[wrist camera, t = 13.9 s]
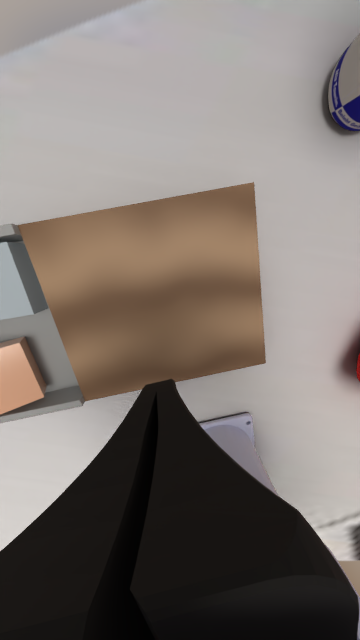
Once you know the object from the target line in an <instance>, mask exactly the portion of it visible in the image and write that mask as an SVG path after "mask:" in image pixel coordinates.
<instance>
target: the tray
mask: <svg viewBox="0 0 360 640" xmlns="http://www.w3.org/2000/svg"><path fill="white" fill-rule="evenodd" d="M2 242H13V243H21V244H24V241H23V238H22V236H21V233H20V231H19V228H18V225H14V224H7V225H1V226H0V243H2ZM43 294H44V293H43ZM44 297H45V296H44ZM45 299H46V298H45ZM46 302H47V301H46ZM47 305H48V304H47ZM24 336H25V338H26V340H27V343H28V345H29V347H30V350H31V352H32V354H33V356H34V359H35V361H36V363H37V365H38V368H39V370H40V372H41V374H42V377H43V379H44V381H45V383H46V386H47V387H46V392H45V396H44V397H43V398H41V399H38V400H36V401H33V402H31V403H28V404H26V405H23V406H21V407H18V408H16V409H13V410H11V411H8V412H5V413H3V414H0V423H4V422H9V421H14V420H19V419H23V418H28V417H33V416H37V415H42V414H47V413H52V412H56V411H61V410H66V409H71V408H75V407H80V406H83V404H84V402H85V400H84V397H83V395H82V392H81V390H80V387H79V384H78V382H77V379H76V377H75V374H74V371H73V369H72V366H71V364H70V361H69V358H68V356H67V353H66V350H65V348H64V345H63V343H62V340H61V337H60V335H59V332H58V330H57V327H56V324H55V322H54V319H53V317H52V314H51V311H50V309H49V306H48V309H45V310H43V311H41V312H38V313H36V314H33V315H27V316H21V317H15V318H9V319H3V320H0V343H2V342H6V341H9V340H13V339H16V338H20V337H24Z"/></svg>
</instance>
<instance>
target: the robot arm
mask: <svg viewBox="0 0 360 640" xmlns="http://www.w3.org/2000/svg"><path fill="white" fill-rule="evenodd" d="M247 421H248V422H247ZM0 640H360V597H359V595H358V594H357V592H356V590H355V589H354V587H353V585H352V584H351V582H350V580H349V579H348V577H347V575H346V574H345V572H344V570H343V569H342V567H341V566H340V564H339V563H338V561H337V559H336V558H335V556H334V555H333V554H332V552H331V551H330V549H329V548H328V547H327V546H326V545H325V544H324V543H323V542H322V540H321V539H320V538H319V536H318V535H317V534H316V532H315V531H314V530H313V528H312V527H311V526H310V525H309V523H308V522H307V521H306V520H305V518H304V517H303V516H302V515H301V513H300V512H299V511H298V510H297V509H295V508H294V507H293V506H291V505H290V504H288V503H287V502H286V501H284V500H283V499H282V498H280V497H279V496H278V494H277V492H276V490H275V488H274V486H273V484H272V482H271V480H270V478H269V476H268V474H267V472H266V470H265V468H264V466H263V464H262V462H261V460H260V458H259V456H258V454H257V452H256V450H255V442H254V431H253V421H252V416H251V415H250V414H249V413H245V414H240V415H236V416H231V417H227V418H222V419H218V420H213V421H208V422H204V423H198V422H197V421H196V419H195V418H194V417H193V415H192V414H191V413H190V411H189V410H188V408H187V407H186V405H185V404H184V402H183V400H182V399H181V397H180V395H179V393H178V391H177V389H176V385H175V381H174V380H173V379H168V380H164V381H160V382H155V383H151V384H147V385H145V386H144V388H143V389H142V391H141V393H140V394H139V396H138V398H137V399H136V401H135V403H134V404H133V406H132V408H131V409H130V411H129V412H128V414H127V415H126V417H125V419H124V420H123V422H122V423H121V424H120V426H119V427H118V429H117V430H116V432H115V433H114V434H113V436H112V437H111V439H110V440H109V441H108V443H107V444H106V445H105V446H104V448H103V449H102V450H101V451H100V452H99V454H98V455H97V456H96V457H95V458H94V460H93V461H92V462H91V463H90V464H89V465H88V467H87V468H86V469H85V470H84V471H83V472H82V473H81V474H80V475H79V476H78V477H77V478H76V479H75V480H74V482H73V483H72V484H71V485H70V486H69V487H68V488H67V489H66V490H65V491H64V492H63V493H62V494H61V495H60V496H59V497H58V498H57V499H56V500H55V501H54V502H53V503H52V504H51V505H50V506H49V507H48V508H47V509H46V510H45V511H44V512H43V513H42V514H41V515H40V516H39V517H38V518H37V519H36V520H35V521H33V522H32V523H31V524H30V525H29V526H28V527H27V528H26V529H25V530H24V531H23V532H22V533H21V534H19V535H18V536H17V537H16V538H15V539H14V540H13V541H12V542H11V543H9V544H8V545H7V546H6V547H5V548H4V549H3V550H1V551H0Z"/></svg>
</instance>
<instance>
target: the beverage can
mask: <svg viewBox="0 0 360 640" xmlns="http://www.w3.org/2000/svg"><path fill="white" fill-rule="evenodd" d="M328 101H329V110H330V113H331V115H332V117H333V119H334V120H335V121H336V123H338V124H339V125H340V126H341V127H343V128H344V129H347V130H350V131H360V34H359V35H358V36H357V38H356V39H355V40H354V41H353V42H352V43H351V44H350V46H349V47H348V48H347V49H346V51H345V52H344V53H343V55H342V56H341V57H340V59H339V60H338V62H337V64H336V66H335V68H334V70H333V73H332V76H331V79H330V83H329V90H328Z"/></svg>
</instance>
